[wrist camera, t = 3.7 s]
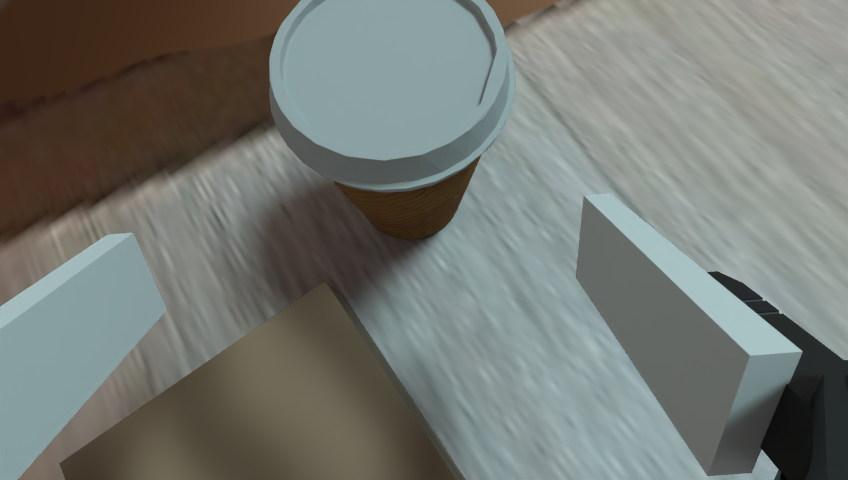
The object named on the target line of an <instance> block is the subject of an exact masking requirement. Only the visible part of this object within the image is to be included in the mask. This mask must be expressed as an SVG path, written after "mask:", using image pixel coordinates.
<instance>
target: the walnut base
mask: <svg viewBox="0 0 848 480" xmlns="http://www.w3.org/2000/svg"><path fill="white" fill-rule="evenodd" d="M59 464H60V466H61V469H62V472H63V474H64V477H65V479H66V480H465V478H464V477H463V475H462V474H461V472H460V470H459V469H458V467H457V466H456V464H455V463H454V461H453V460H452V458H451V457H450V455H449V454H448V452H447V451H446V449H445V448H444V446H443V445H442V443H441V442H440V440H439V439H438V437H437V436H436V434H435V433H434V431H433V430H432V428H431V427H430V425H429V424H428V422H427V421H426V419H425V418H424V416H423V415H422V413H421V412H420V410H419V409H418V407H417V406H416V404H415V403H414V401H413V400H412V398H411V397H410V395H409V394H408V392H407V391H406V389H405V388H404V386H403V385H402V383H401V382H400V380H399V379H398V377H397V376H396V374H395V373H394V371H393V370H392V368H391V367H390V365H389V364H388V362H387V361H386V359H385V358H384V356H383V355H382V353H381V352H380V350H379V349H378V347H377V346H376V344H375V343H374V341H373V340H372V338H371V337H370V335H369V334H368V332H367V331H366V329H365V328H364V326H363V325H362V323H361V322H360V320H359V319H358V317H357V316H356V314H355V313H354V311H353V310H352V308H351V307H350V305H349V303H348V302H347V300H346V299H345V297H344V296H343V295H342V294H341V293H340V292H338V291H337V290H336V289H335V288H333V287H332V286H331V285H330V284H328V283H327V282H326V281H324V282H323V283H321V284H320V285H318V286H317V287H315V288H314V289H312V290H311V291H309V292H308V293H307V294H305V295H304V296H302V297H301V298H299V299H298V300H296V301H295V302H293V303H292V304H291V305H289V306H288V307H286V308H285V309H283V310H282V311H280V312H279V313H277V314H276V315H275V316H273V317H272V318H270V319H269V320H267V321H266V322H264V323H263V324H261V325H260V326H259V327H257V328H256V329H254V330H253V331H251V332H250V333H248V334H247V335H245V336H244V337H243V338H241V339H240V340H238V341H237V342H235V343H234V344H232V345H231V346H229V347H228V348H227V349H225V350H224V351H222V352H221V353H219V354H218V355H216V356H215V357H213V358H212V359H211V360H209V361H208V362H206V363H205V364H203V365H202V366H200V367H199V368H197V369H196V370H195V371H193V372H192V373H190V374H189V375H187V376H186V377H184V378H183V379H181V380H180V381H179V382H177V383H176V384H174V385H173V386H171V387H170V388H168V389H167V390H165V391H164V392H163V393H161V394H160V395H158V396H157V397H155V398H154V399H152V400H151V401H149V402H148V403H147V404H145V405H144V406H142V407H141V408H139V409H138V410H136V411H135V412H133V413H132V414H131V415H129V416H128V417H126V418H125V419H123V420H122V421H120V422H119V423H117V424H116V425H115V426H113V427H112V428H110V429H109V430H107V431H106V432H104V433H103V434H101V435H100V436H99V437H97V438H96V439H94V440H93V441H91V442H90V443H88V444H87V445H85V446H84V447H83V448H81V449H80V450H78V451H77V452H75V453H74V454H72V455H71V456H69V457H68V458H67V459H65V460H64V461H62V462H61V463H59Z"/></svg>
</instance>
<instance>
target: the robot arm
mask: <svg viewBox="0 0 848 480" xmlns="http://www.w3.org/2000/svg"><path fill="white" fill-rule="evenodd" d="M576 278H577V280H578V281H579V283H580V284H581V286H582V287H583V289H584V290H585V292H586V293H587V295H588V296H589V298H590V299H591V301H592V302H593V304H594V305H595V307H596V308H597V310H598V311H599V313H600V314H601V316H602V317H603V319H604V320H605V322H606V323H607V325H608V326H609V328H610V329H611V331H612V332H613V334H614V335H615V337H616V339H617V340H618V342H619V343H620V345H621V346H622V348H623V349H624V351H625V352H626V354H627V355H628V357H629V358H630V360H631V361H632V363H633V364H634V366H635V367H636V369H637V370H638V372H639V373H640V375H641V376H642V378H643V379H644V381H645V382H646V384H647V385H648V387H649V388H650V390H651V391H652V393H653V394H654V396H655V397H656V399H657V400H658V402H659V403H660V405H661V406H662V408H663V409H664V411H665V412H666V414H667V415H668V417H669V418H670V420H671V421H672V423H673V424H674V426H675V427H676V429H677V431H678V432H679V434H680V435H681V437H682V438H683V440H684V441H685V443H686V444H687V446H688V447H689V449H690V450H691V452H692V453H693V455H694V456H695V458H696V459H697V461H698V462H699V464H700V465H701V467H702V468H703V470H704V471H705V473H706V474H707V476H714V475H728V474H741V473H752V470H753V468H754V466H755V463H756V461H757V459H758V456H759V454H760V452H761V449H762V450H763V451H764V452H765V453H766V455H767V456H768V457H769V458H770V459H771V461H772V462H773V463H774V464H775V465H776V467H777V468H778V469H779V470H778V473H777V475H776V477H775V479H774V480H848V360H843V359H842V358H840V357H839V356H838V355H836V354H835V353H834V352H832V351H831V350H830V349H828V348H827V347H826V346H825V345H823V344H822V343H821V342H819V341H818V340H817V339H815V338H814V337H813V336H811V335H810V334H809V333H808V332H806V331H805V330H804V329H802V328H801V327H800V326H798V325H797V324H796V323H794V322H793V321H792V320H791V319H789V318H788V317H787V316H785V315H784V314H779V310H777V309H776V308H775V307H774V306H772V305H771V304H770V303H768V302H767V301H763V300H762V297H760V296H759V295H758V294H757V293H755V292H754V291H753V290H751V289H750V288H749V287H747V286H746V285H745V284H743V283H742V282H739V281H737V280H735V279H733V278H731V277H728V276H726V275H724V274H722V273H720V272H718V271H717V272H706V271H704V270H703V269H702V268H701V267H699V266H698V265H697V264H696V263H695V262H693V261H692V260H691V259H690V258H688V257H687V256H686V255H685V254H684V253H682V252H681V251H680V250H679V249H678V248H676V247H675V246H674V245H673V244H671V243H670V242H669V241H668V240H667V239H665V238H664V237H663V236H662V235H661V234H659V233H658V232H657V231H656V230H654V229H653V228H652V227H651V226H650V225H648V224H647V223H646V222H645V221H644V220H642V219H641V218H640V217H639V216H637V215H636V214H635V213H634V212H633V211H631V210H630V209H629V208H628V207H626V206H625V205H624V204H623V203H622V202H620V201H619V200H618V199H617V198H616V197H614V196H613V195H612V194H611V193H609V194H597V195H584V199H583V209H582V219H581V229H580V239H579V249H578V260H577V270H576ZM165 311H166V307H165V305H164V303H163V301H162V298H161V296H160V294H159V291H158V289H157V287H156V284H155V282H154V280H153V277H152V275H151V273H150V270H149V268H148V266H147V264H146V261H145V259H144V257H143V254H142V252H141V250H140V247H139V245H138V243H137V240H136V238H135V236H134V234H133V233H123V234H111V235H106V236H105V237H103V238H102V239H100V240H99V241H97V242H96V243H94V244H93V245H91V246H90V247H88V248H87V249H85V250H84V251H82V252H81V253H79V254H78V255H76V256H75V257H73V258H72V259H70V260H69V261H68V262H66V263H65V264H63V265H62V266H60V267H59V268H57V269H56V270H54V271H53V272H51V273H50V274H48V275H47V276H45V277H44V278H42V279H41V280H39V281H38V282H36V283H35V284H33V285H32V286H30V287H29V288H27V289H26V290H24V291H23V292H21V293H20V294H18V295H17V296H15V297H14V298H12V299H11V300H9V301H8V302H6V303H5V304H3V305H2V306H0V480H18V479H19V477H20V476H21V475H22V474H23V473H24V472H25V471H26V469H27V468H28V467H29V466H30V465H31V464H32V463H33V461H34V460H35V459H36V458H37V457H38V456H39V455H40V453H41V452H42V451H43V450H44V449H45V448H46V447H47V445H48V444H49V443H50V442H51V441H52V440H53V439H54V438H55V436H56V435H57V434H58V433H59V432H60V431H61V430H62V428H63V427H64V426H65V425H66V424H67V423H68V422H69V420H70V419H71V418H72V417H73V416H74V415H75V414H76V412H77V411H78V410H79V409H80V408H81V407H82V406H83V404H84V403H85V402H86V401H87V400H88V399H89V398H90V396H91V395H92V394H93V393H94V392H95V391H96V390H97V389H98V387H99V386H100V385H101V384H102V383H103V382H104V381H105V379H106V378H107V377H108V376H109V375H110V374H111V373H112V371H113V370H114V369H115V368H116V367H117V366H118V365H119V363H120V362H121V361H122V360H123V359H124V358H125V357H126V355H127V354H128V353H129V352H130V351H131V350H132V349H133V347H134V346H135V345H136V344H137V343H138V342H139V341H140V340H141V338H142V337H143V336H144V335H145V334H146V333H147V332H148V330H149V329H150V328H151V327H152V326H153V325H154V324H155V322H156V321H157V320H158V319H159V318H160V317H161V316H162V314H163V313H164V312H165Z"/></svg>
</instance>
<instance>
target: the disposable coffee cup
mask: <svg viewBox="0 0 848 480" xmlns="http://www.w3.org/2000/svg"><path fill="white" fill-rule="evenodd" d="M515 85H516V77H515V66H514V62H513V58H512V54H511V52H510V49H509V47H508V45H507V42H506V39H505V35H504V31H503V28H502V26H501V24H500V22H499V20H498V18H497V16H496V14H495V12H494V10H493V9H492V8H491V7H490V6H489V5H488V4H487V3H486V1H485V0H301V1H300V2H299V3H298V5H297V6H296V7H295V8H294V9H293V10H292V12H291V13H290V14H289V15H288V17H287V18H286V19H285V20H284V22H283V23H282V24H281V26H280V28H279V30H278V33H277V35H276V37H275V39H274V42H273V46H272V50H271V54H270V91H269V98H270V105H271V112H272V115H273V118H274V121H275V124H276V127H277V129H278V131H279V133H280V134H281V136H282V137H283V139H284V141H285V142H286V144H287V146H288V147H289V148H290V149H291V150H292V151H293V152H294V153H295V154H296V156H297V157H298V158H299V159H300V160H301V161H302V162H303V163H304V164H306V165H308V166H309V167H311V168H312V169H314V170H315V171H317V172H318V173H320V174H321V175H323V176H324V177H326V178H327V179H330V180H332V181H334V183H335V184H336V185H337V186H338V187H339V188H340V189H341V190H342V191H343V192H344V194H345V195H347V197H348V198H349V199H350V200H351V201H352V202H353V203H354V204H355V205H356V206H357V207H358V208H359V209H360V210H361V212H362V213H364V215H365V216H366V217H367V218H368V219H369V220H370V221H371V222H372V224H373V225H374V226H376V227H377V228H378V229H379V230H380V231H382V232H384V233H386V234H388V235H390V236H393V237H397V238H400V239H419V238H424V237H427V236H429V235H431V234H434V233H436V232H438V231H439V230H441V229H442V228H443V227H445V226H446V225H447V224H448V223H449V222H450V220H451V219H452V218H453V216H454V214H455V213H456V211H457V209H458V206H459V204H460V202H461V200H462V197H463V195H464V193H465V191H466V188H467V186H468V184H469V182H470V179H471V177H472V174H473V173H474V171H475V168H476V166H477V164H478V161H479V159H480V157H481V155H482V153H484V152H485V151H486V150H487V149H488V148H489V147H490V146H491V145H492V143H493V142H494V140H495V139H496V137H497V136H498V134H499V133H500V131H501V129H502V128H503V126H504V125H505V123H506V121H507V118H508V116H509V113H510V110H511V107H512V104H513V100H514V92H515Z"/></svg>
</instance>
